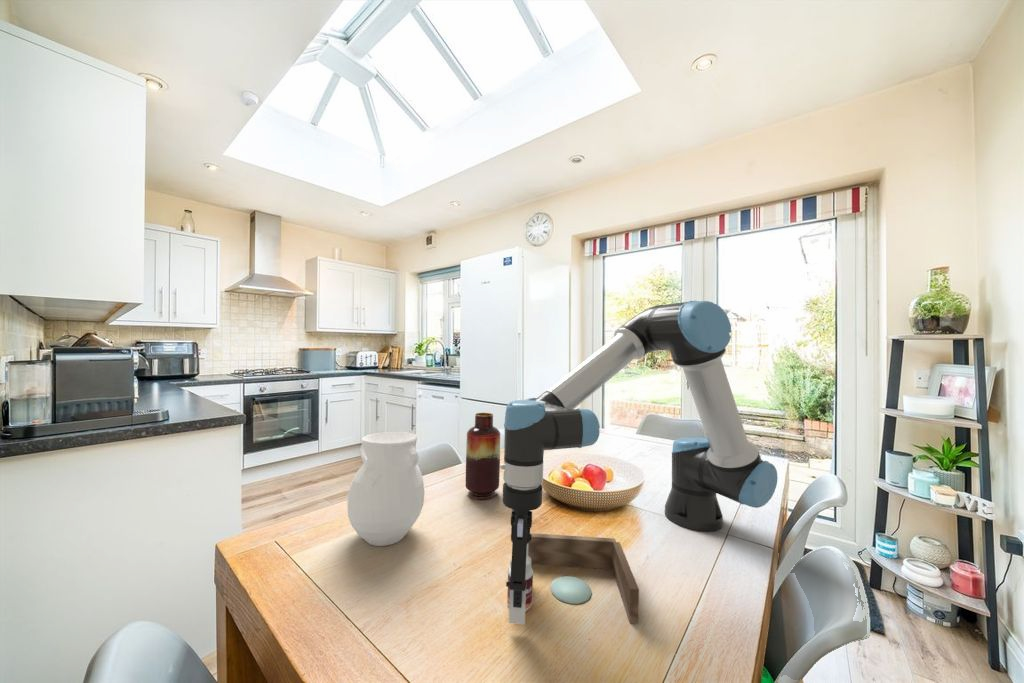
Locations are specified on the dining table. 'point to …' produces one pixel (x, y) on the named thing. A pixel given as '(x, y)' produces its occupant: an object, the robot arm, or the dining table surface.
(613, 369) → the robot arm
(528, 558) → the pill bottle
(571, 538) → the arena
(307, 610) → the dining table surface
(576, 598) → the disc
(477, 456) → the vase
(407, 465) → the white vase
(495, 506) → the dining table surface
